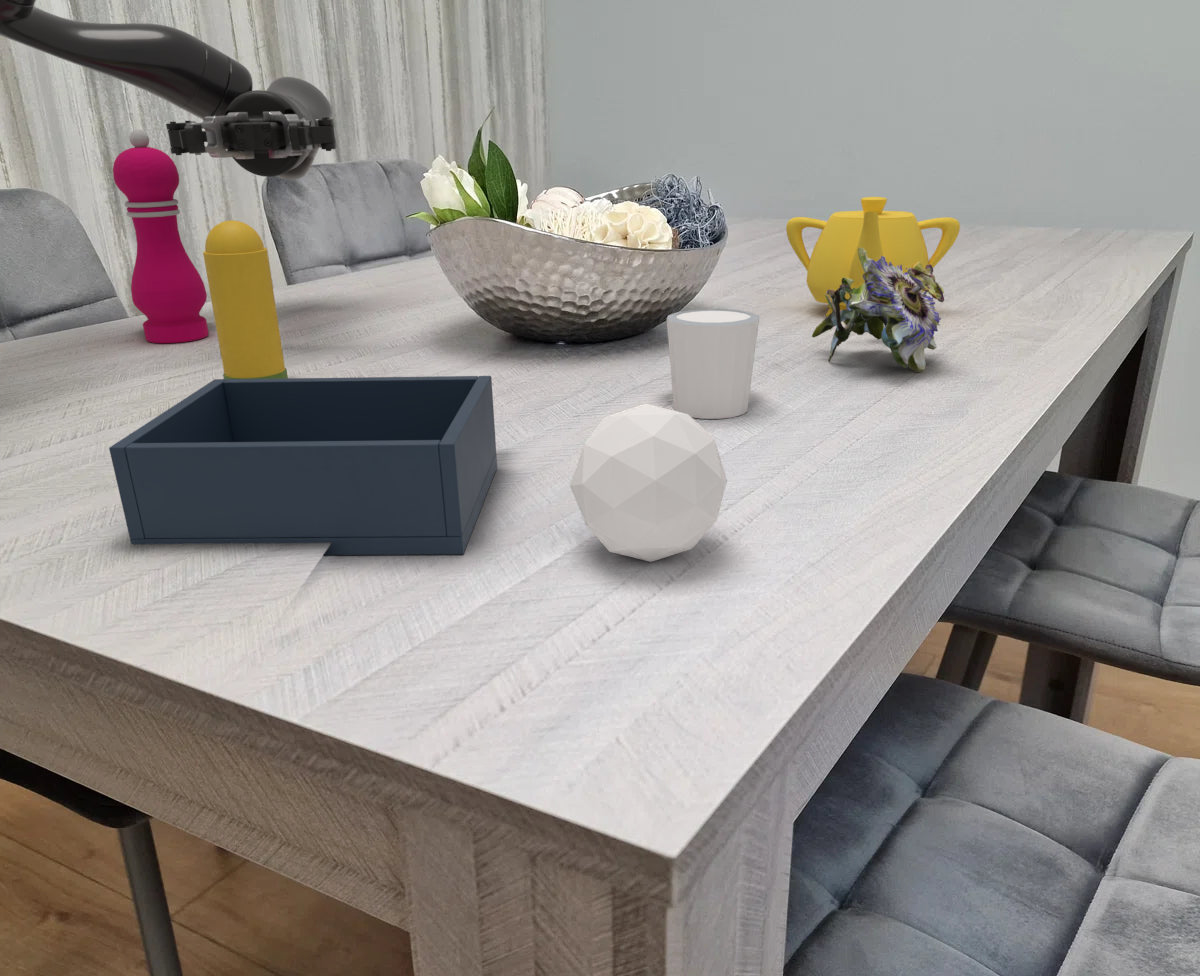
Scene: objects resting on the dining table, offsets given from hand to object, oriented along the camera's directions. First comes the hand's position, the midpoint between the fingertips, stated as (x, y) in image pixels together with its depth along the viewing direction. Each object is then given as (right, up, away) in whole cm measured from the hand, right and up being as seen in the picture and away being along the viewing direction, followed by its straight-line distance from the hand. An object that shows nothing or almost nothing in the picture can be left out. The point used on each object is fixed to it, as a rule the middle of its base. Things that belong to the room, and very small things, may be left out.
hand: (242, 138), depth 88 cm
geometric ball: (+33, -37, -34) cm, 60 cm away
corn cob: (+2, -22, -2) cm, 22 cm away
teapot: (+59, -8, +25) cm, 65 cm away
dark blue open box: (+15, -34, -27) cm, 45 cm away
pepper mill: (-14, -12, +22) cm, 28 cm away
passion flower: (+54, -19, +4) cm, 57 cm away
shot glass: (+39, -25, -9) cm, 47 cm away
